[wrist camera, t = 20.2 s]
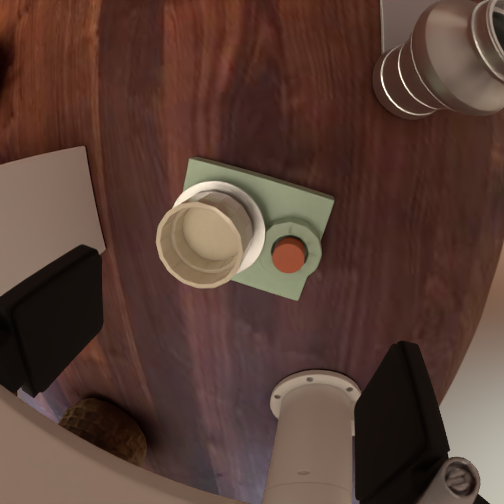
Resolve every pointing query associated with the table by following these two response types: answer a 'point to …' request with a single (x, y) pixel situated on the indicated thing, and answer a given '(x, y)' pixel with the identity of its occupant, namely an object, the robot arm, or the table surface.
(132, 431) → the ceramic vessel
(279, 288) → the scale
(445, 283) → the table surface
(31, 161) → the cardboard gift box
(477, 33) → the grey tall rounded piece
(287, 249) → the button
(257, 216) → the scale plate
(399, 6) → the smartphone
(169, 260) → the bowl
